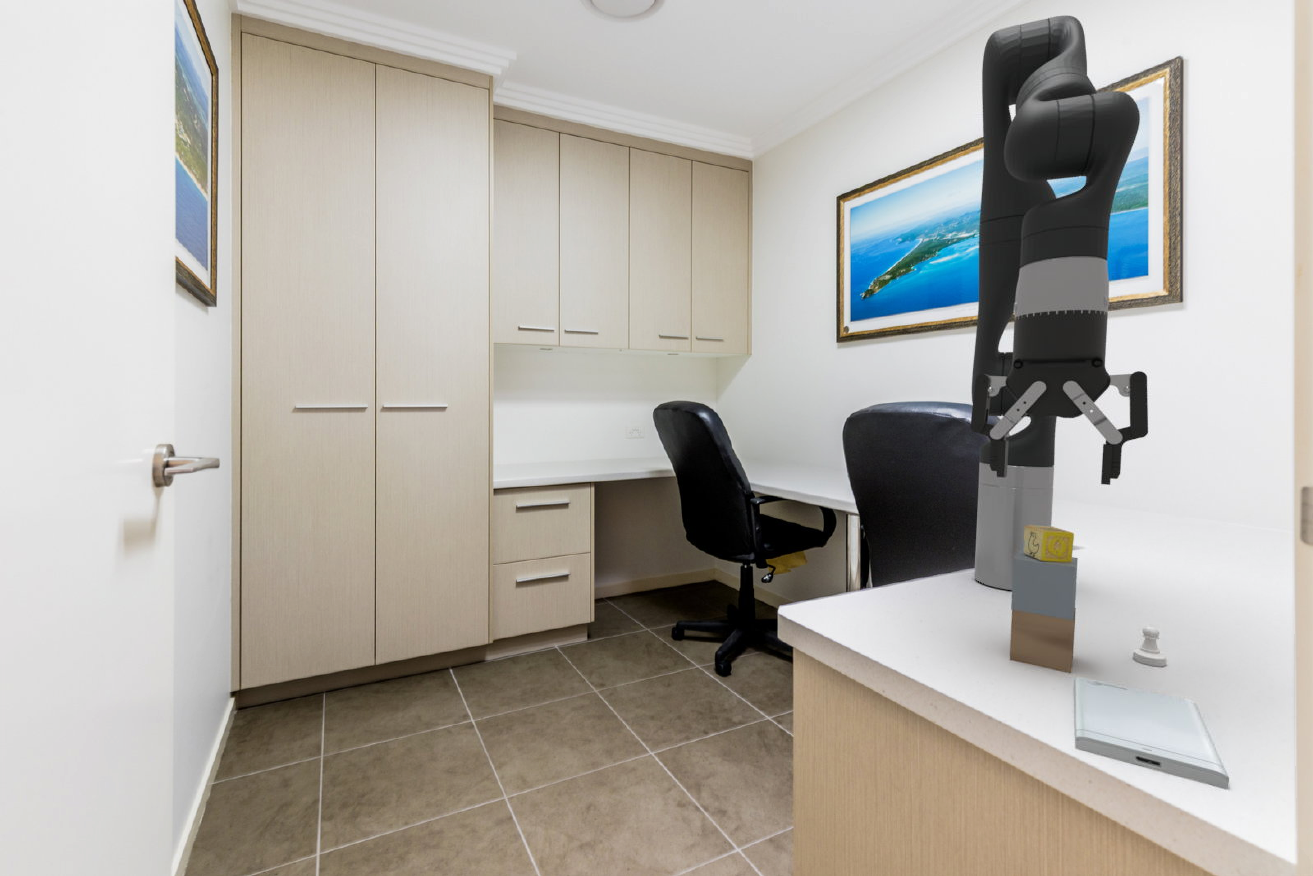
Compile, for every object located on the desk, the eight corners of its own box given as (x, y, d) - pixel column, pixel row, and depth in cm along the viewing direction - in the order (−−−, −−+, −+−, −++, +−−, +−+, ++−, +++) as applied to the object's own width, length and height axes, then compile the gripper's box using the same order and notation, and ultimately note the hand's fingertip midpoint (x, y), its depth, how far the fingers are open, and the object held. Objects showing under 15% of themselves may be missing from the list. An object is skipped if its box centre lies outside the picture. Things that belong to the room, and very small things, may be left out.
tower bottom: (1015, 645, 64) (1017, 598, 64) (1073, 657, 61) (1075, 607, 61) (1009, 660, 60) (1012, 609, 60) (1071, 673, 57) (1073, 620, 57)
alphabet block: (1052, 555, 62) (1053, 525, 62) (1073, 563, 59) (1075, 531, 58) (1021, 554, 62) (1023, 524, 62) (1041, 562, 59) (1042, 530, 58)
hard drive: (1074, 675, 54) (1075, 732, 44) (1196, 701, 50) (1230, 772, 39) (1073, 693, 54) (1074, 755, 44) (1195, 721, 50) (1228, 797, 39)
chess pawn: (1160, 659, 61) (1162, 624, 61) (1170, 669, 59) (1172, 633, 59) (1128, 655, 62) (1130, 621, 62) (1137, 664, 60) (1139, 628, 60)
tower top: (1017, 597, 64) (1019, 550, 64) (1075, 607, 61) (1077, 557, 61) (1011, 609, 60) (1013, 558, 60) (1072, 620, 57) (1075, 567, 57)
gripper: (1152, 312, 58) (1142, 483, 59) (983, 322, 66) (976, 472, 67) (1157, 300, 52) (1146, 491, 53) (970, 313, 60) (963, 477, 61)
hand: (1051, 480), depth 60 cm, fingers open, 8 cm apart
